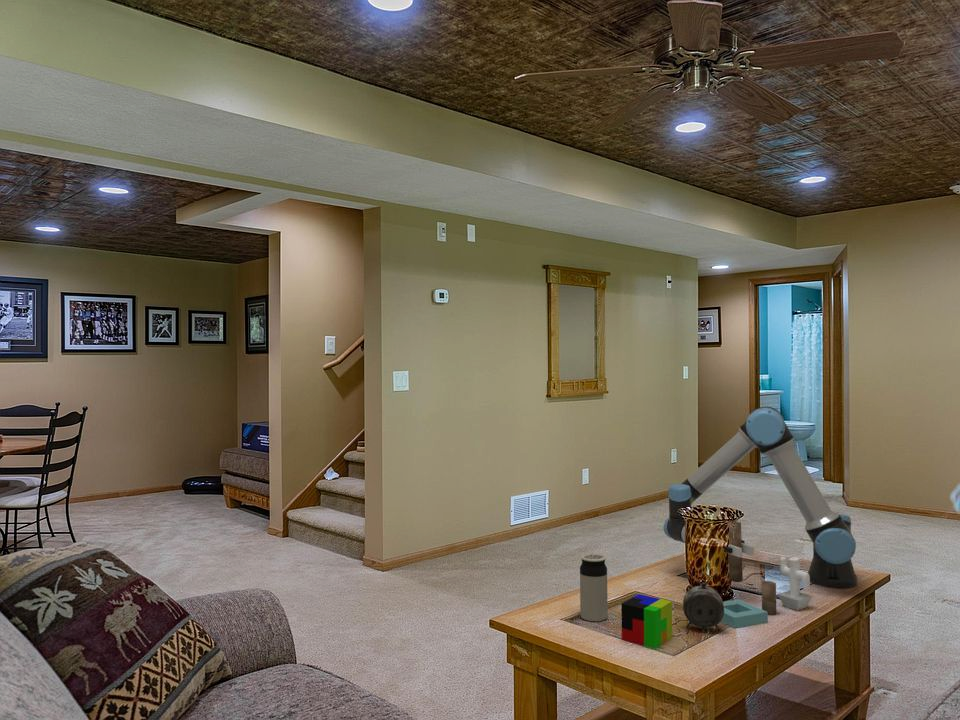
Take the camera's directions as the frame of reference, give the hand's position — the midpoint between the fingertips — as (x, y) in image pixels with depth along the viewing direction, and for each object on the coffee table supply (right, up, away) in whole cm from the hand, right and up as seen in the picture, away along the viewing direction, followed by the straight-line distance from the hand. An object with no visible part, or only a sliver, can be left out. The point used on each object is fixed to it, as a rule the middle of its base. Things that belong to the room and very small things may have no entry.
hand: (747, 552), depth 224 cm
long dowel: (-2, -10, +5) cm, 11 cm away
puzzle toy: (-36, -17, -25) cm, 47 cm away
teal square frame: (-7, -17, -10) cm, 21 cm away
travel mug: (-48, -18, -8) cm, 52 cm away
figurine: (+14, -17, -1) cm, 22 cm away
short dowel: (+5, -17, -5) cm, 18 cm away
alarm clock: (-19, -17, -19) cm, 32 cm away
